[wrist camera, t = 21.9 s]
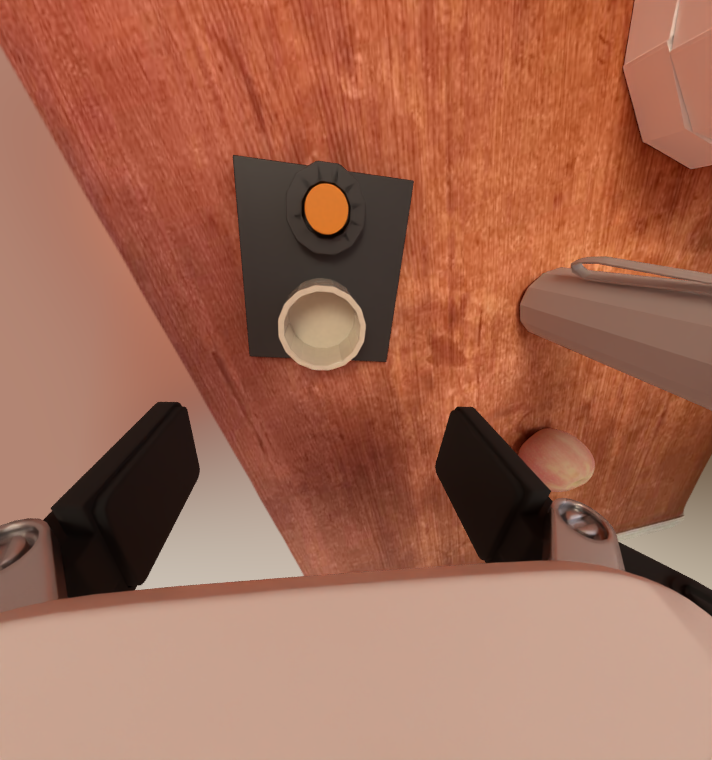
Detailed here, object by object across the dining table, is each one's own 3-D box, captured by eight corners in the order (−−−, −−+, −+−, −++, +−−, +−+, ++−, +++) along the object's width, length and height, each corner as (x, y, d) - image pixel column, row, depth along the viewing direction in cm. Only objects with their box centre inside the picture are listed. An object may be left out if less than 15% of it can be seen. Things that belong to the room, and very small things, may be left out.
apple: (500, 461, 41) (538, 507, 34) (513, 419, 38) (558, 461, 31) (549, 457, 42) (596, 501, 35) (566, 415, 38) (622, 455, 31)
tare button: (305, 232, 22) (304, 231, 21) (305, 184, 20) (304, 180, 19) (345, 236, 22) (346, 236, 21) (348, 189, 21) (350, 186, 20)
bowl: (286, 348, 27) (279, 368, 23) (284, 274, 24) (276, 282, 20) (354, 351, 28) (361, 371, 24) (361, 281, 25) (370, 289, 21)
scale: (253, 349, 29) (245, 362, 26) (239, 160, 22) (225, 147, 19) (382, 355, 31) (389, 368, 28) (407, 184, 24) (420, 175, 21)
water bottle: (585, 309, 31) (1227, 472, 9) (521, 346, 33) (953, 569, 10) (570, 231, 27) (1649, 189, 5) (498, 277, 28) (1122, 400, 6)
